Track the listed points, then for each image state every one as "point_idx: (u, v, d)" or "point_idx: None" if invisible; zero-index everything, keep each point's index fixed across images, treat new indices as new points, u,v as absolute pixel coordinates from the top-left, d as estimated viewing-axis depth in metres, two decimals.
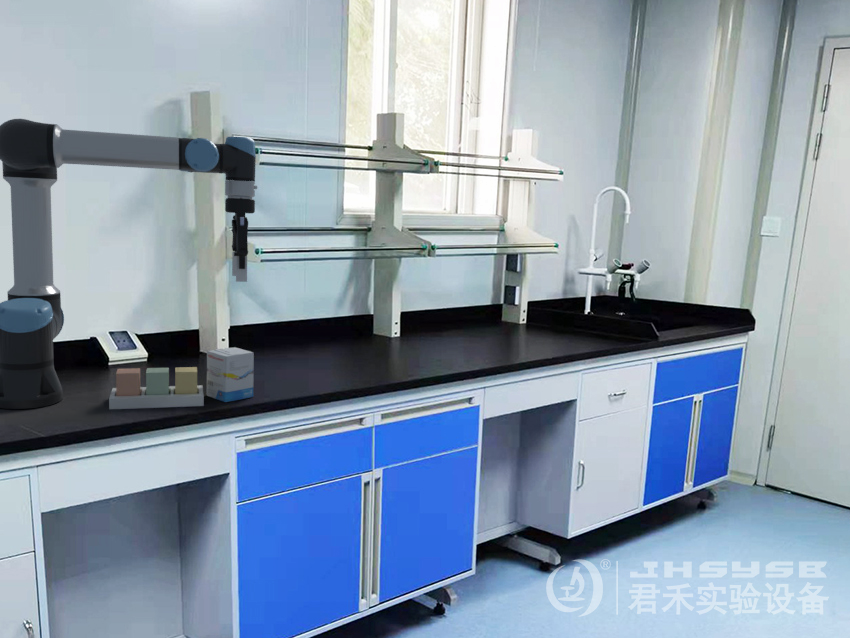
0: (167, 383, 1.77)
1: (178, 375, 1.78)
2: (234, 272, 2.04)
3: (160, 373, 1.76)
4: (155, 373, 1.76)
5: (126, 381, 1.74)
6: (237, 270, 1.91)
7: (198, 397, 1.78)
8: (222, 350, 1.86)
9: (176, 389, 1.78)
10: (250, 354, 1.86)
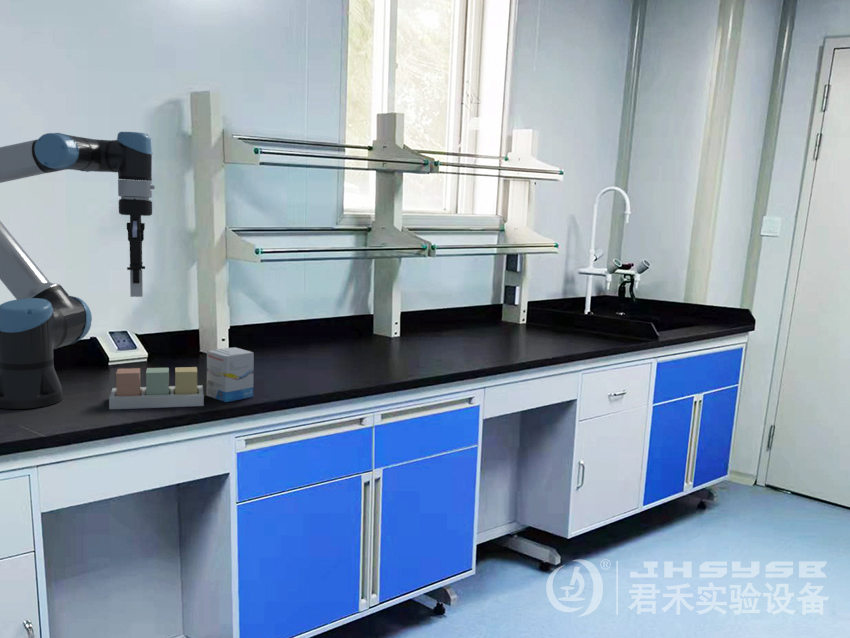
0: (167, 383, 1.77)
1: (178, 375, 1.78)
2: None
3: (160, 373, 1.76)
4: (155, 373, 1.76)
5: (126, 381, 1.74)
6: (131, 285, 1.81)
7: (198, 397, 1.78)
8: (222, 350, 1.86)
9: (176, 389, 1.78)
10: (250, 354, 1.86)
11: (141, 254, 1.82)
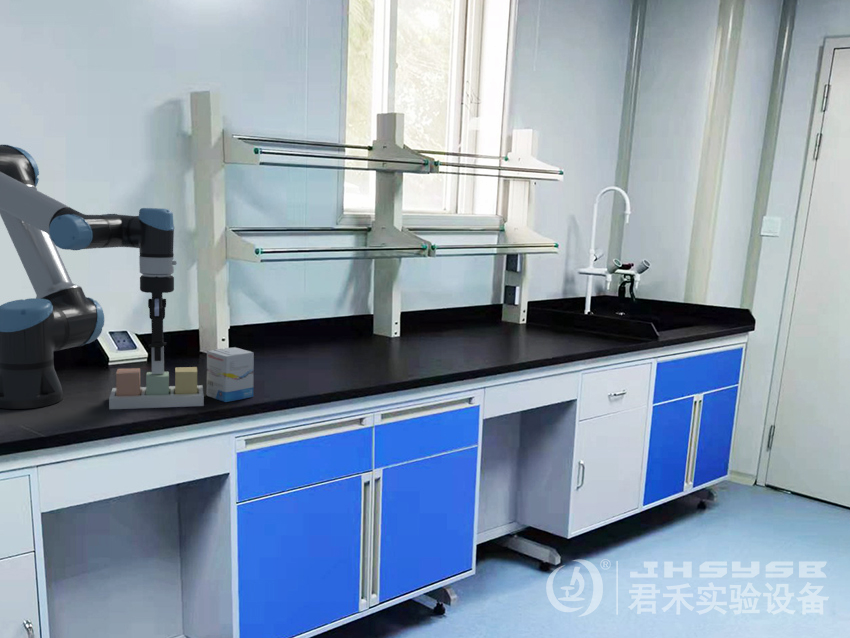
0: (167, 387, 1.77)
1: (178, 375, 1.78)
2: None
3: (160, 377, 1.77)
4: (155, 377, 1.76)
5: (126, 381, 1.74)
6: (153, 362, 1.77)
7: (198, 397, 1.78)
8: (222, 350, 1.86)
9: (176, 389, 1.78)
10: (250, 354, 1.86)
11: None
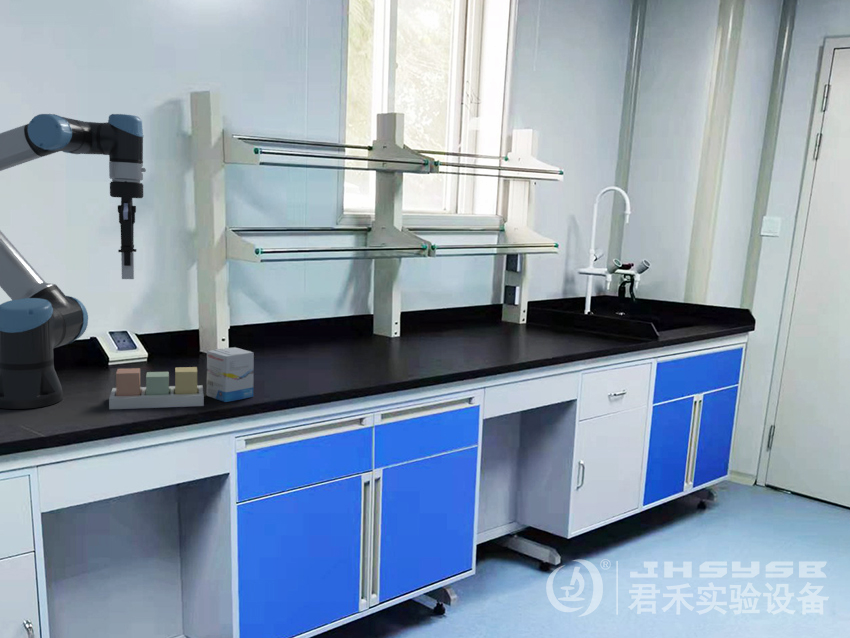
0: (167, 387, 1.77)
1: (178, 375, 1.78)
2: None
3: (160, 377, 1.77)
4: (155, 377, 1.76)
5: (126, 381, 1.74)
6: (122, 267, 1.82)
7: (198, 397, 1.78)
8: (222, 350, 1.86)
9: (176, 389, 1.78)
10: (250, 354, 1.86)
11: (132, 237, 1.83)
